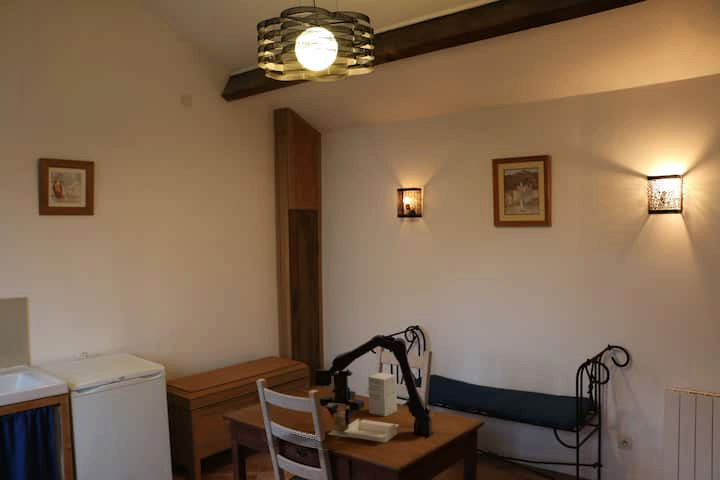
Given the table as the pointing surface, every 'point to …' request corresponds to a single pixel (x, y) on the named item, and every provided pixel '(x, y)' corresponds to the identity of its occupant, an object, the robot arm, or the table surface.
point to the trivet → (338, 433)
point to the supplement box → (382, 394)
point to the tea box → (340, 421)
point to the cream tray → (372, 430)
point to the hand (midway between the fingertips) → (342, 423)
